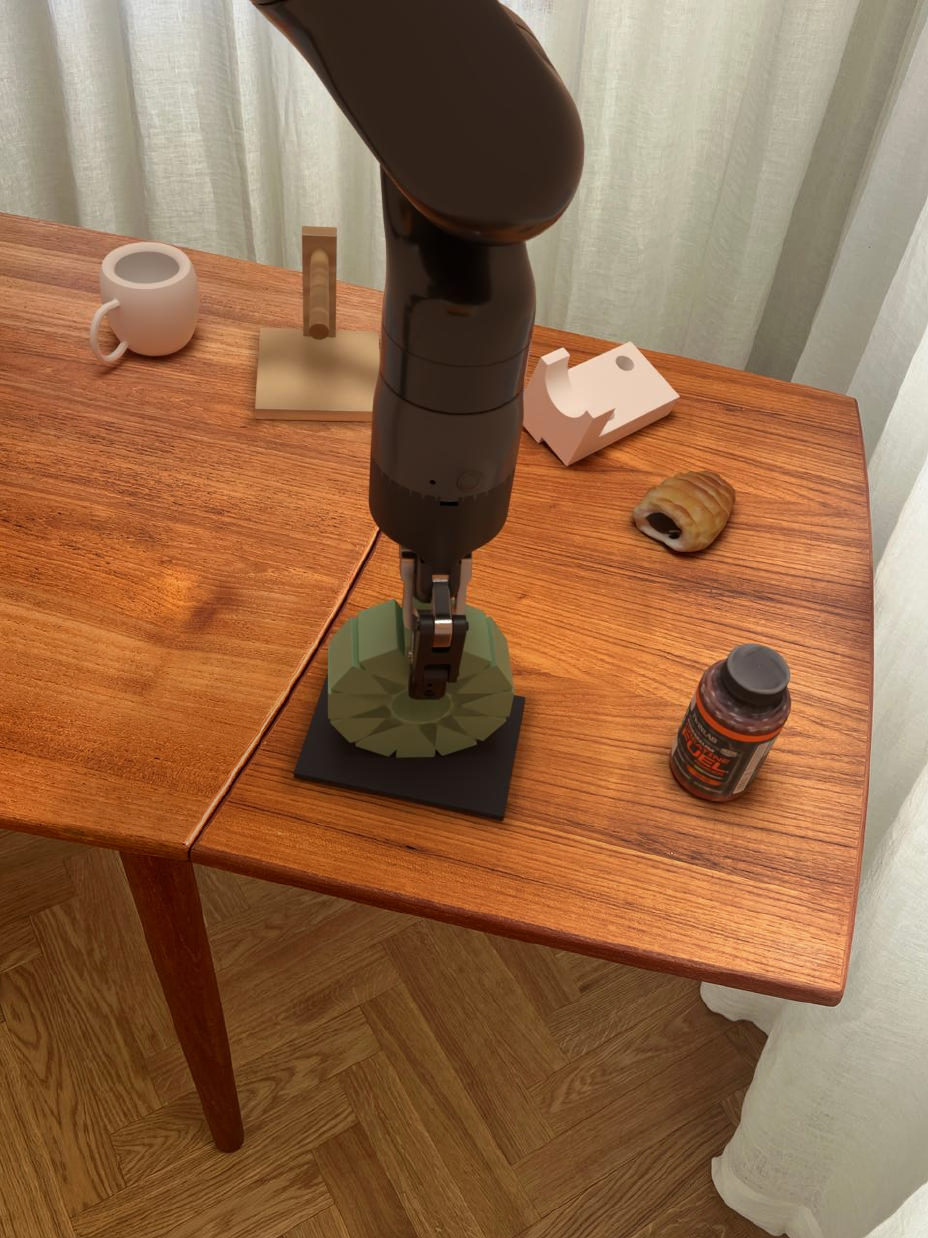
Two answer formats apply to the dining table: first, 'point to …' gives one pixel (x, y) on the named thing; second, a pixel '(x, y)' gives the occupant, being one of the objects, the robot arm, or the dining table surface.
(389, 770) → the mat
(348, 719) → the green grooved wheel
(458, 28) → the robot arm
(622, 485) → the dining table surface
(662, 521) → the pastry
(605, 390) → the bracket
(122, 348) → the mug
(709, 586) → the dining table surface
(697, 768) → the supplement bottle
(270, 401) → the peg stand with base
